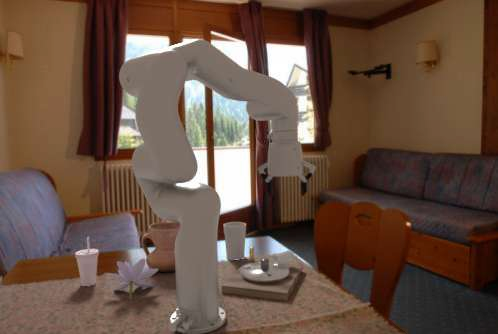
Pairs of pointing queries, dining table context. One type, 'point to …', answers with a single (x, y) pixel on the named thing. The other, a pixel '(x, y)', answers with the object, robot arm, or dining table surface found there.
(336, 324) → the dining table surface
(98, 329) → the dining table surface
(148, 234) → the ceramic jug
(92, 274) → the smoothie
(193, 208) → the robot arm
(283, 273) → the flange plate
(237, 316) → the dining table surface
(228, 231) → the cup
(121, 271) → the water lily
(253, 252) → the post and dowel
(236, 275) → the base board
